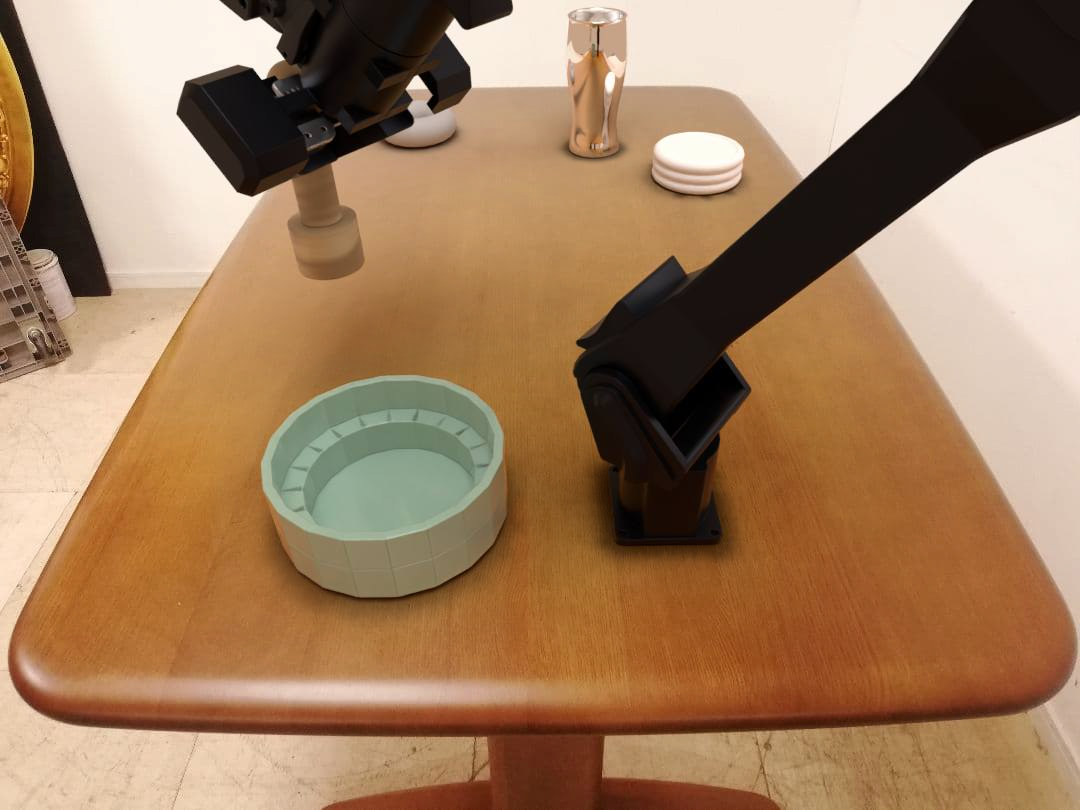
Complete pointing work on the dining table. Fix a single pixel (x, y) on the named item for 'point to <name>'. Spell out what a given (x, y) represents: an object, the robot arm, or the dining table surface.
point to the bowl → (387, 484)
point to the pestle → (321, 219)
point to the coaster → (697, 162)
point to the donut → (425, 126)
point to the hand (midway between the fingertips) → (297, 167)
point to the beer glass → (595, 78)
